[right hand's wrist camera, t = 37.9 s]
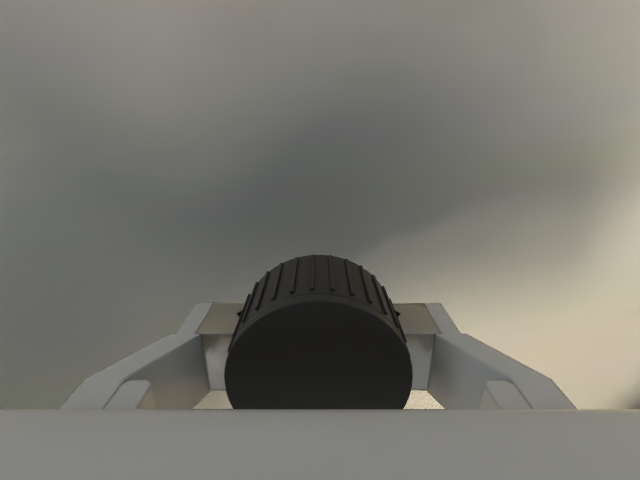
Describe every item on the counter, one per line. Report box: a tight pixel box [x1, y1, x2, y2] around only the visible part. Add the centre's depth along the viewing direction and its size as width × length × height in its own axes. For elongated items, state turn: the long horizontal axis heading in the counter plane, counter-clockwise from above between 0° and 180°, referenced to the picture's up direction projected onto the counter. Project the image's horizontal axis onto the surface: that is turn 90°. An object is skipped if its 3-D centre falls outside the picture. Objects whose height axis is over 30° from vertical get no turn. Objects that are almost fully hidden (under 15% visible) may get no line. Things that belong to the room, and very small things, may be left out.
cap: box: [224, 255, 413, 409], centre depth 9 cm, size 4×4×2 cm
